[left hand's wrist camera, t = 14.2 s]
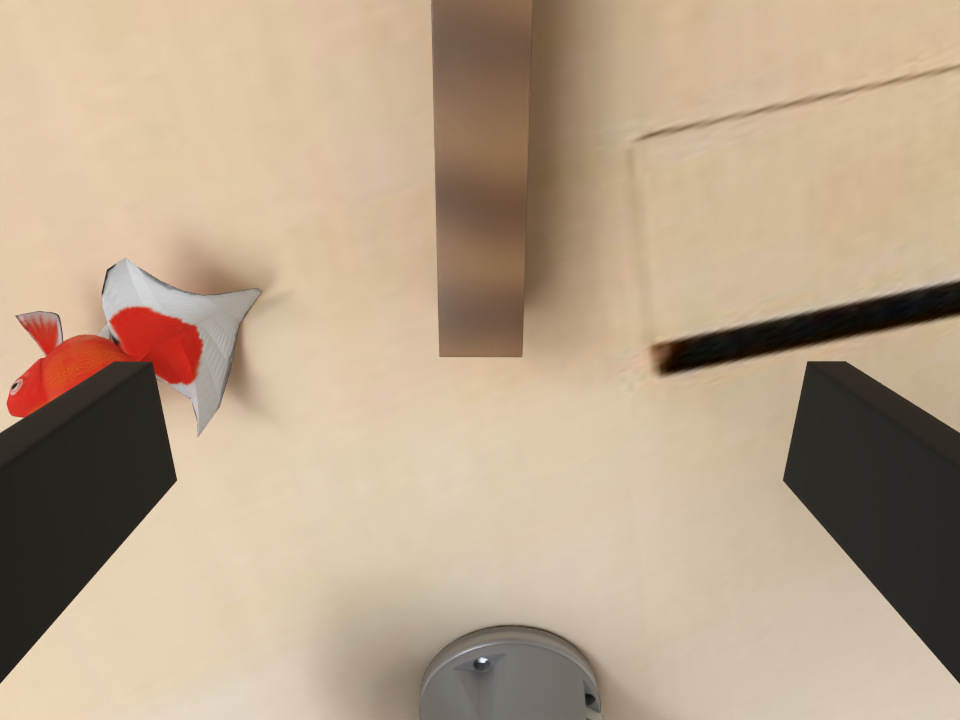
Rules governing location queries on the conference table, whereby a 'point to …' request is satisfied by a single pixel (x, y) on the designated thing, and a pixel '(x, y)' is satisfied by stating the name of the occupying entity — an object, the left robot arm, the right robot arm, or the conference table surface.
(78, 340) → the fish
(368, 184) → the conference table surface
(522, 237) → the bar
